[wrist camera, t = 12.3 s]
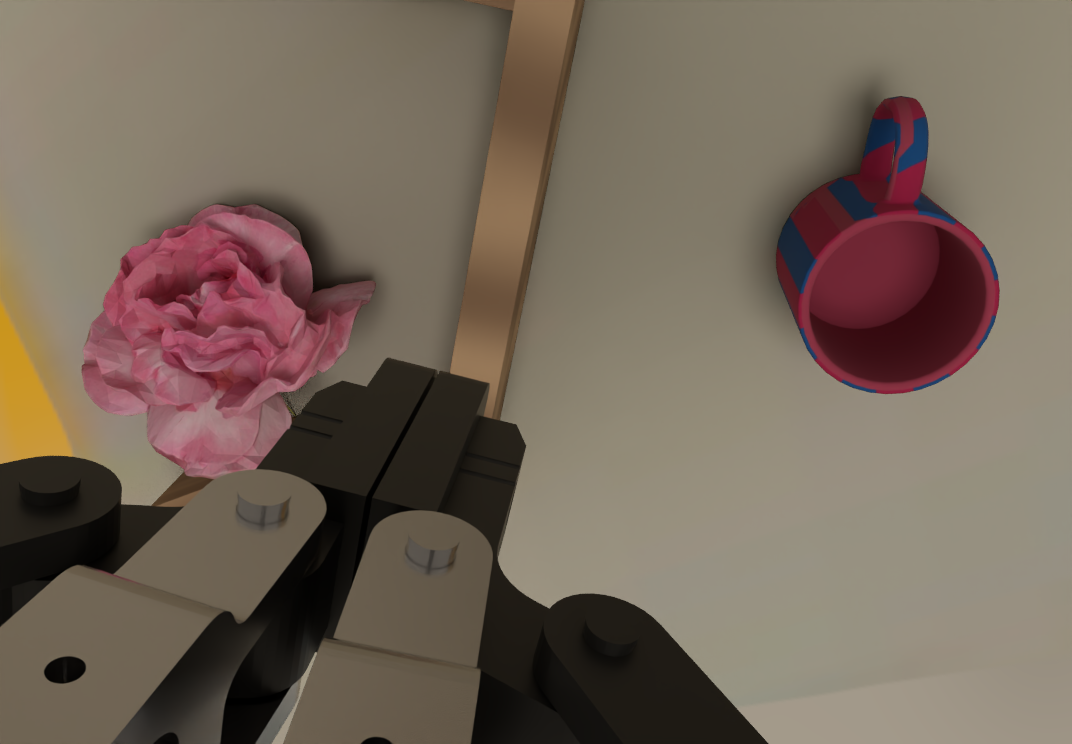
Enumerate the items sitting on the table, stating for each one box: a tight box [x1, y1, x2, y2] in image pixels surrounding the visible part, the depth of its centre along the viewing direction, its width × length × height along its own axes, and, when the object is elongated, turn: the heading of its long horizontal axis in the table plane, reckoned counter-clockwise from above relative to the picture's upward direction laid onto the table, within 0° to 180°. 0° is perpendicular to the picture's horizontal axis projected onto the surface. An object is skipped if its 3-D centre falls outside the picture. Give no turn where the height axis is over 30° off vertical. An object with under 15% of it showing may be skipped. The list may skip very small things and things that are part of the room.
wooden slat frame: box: [151, 0, 585, 507], centre depth 39 cm, size 29×14×5 cm, turn 169°
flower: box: [82, 204, 376, 479], centre depth 40 cm, size 11×10×10 cm
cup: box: [776, 96, 1000, 394], centre depth 36 cm, size 7×10×7 cm
